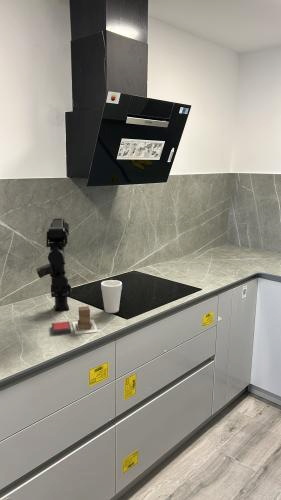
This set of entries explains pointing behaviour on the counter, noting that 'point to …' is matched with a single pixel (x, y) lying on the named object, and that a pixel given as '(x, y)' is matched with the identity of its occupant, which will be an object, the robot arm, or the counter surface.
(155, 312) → the counter surface
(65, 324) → the ink pad
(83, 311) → the stamp
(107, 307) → the foam cup
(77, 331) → the paper sheet
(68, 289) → the robot arm
